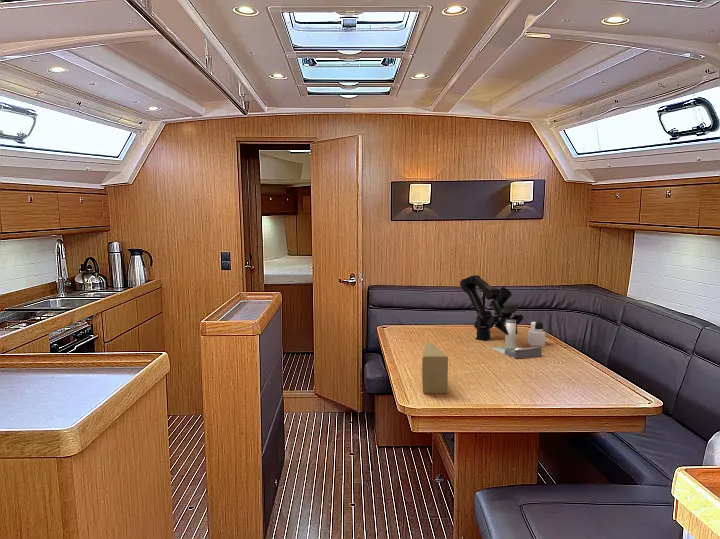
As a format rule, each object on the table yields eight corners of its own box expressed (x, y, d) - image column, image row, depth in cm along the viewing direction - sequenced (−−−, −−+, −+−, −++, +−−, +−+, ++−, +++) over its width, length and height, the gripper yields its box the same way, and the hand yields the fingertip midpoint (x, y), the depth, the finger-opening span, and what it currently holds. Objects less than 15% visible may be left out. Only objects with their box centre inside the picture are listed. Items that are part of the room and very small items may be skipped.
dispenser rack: (504, 354, 240) (504, 345, 239) (530, 351, 244) (530, 342, 244) (515, 359, 232) (515, 349, 231) (541, 356, 236) (541, 346, 236)
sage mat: (491, 348, 250) (491, 348, 250) (515, 346, 255) (515, 345, 255) (504, 354, 240) (504, 353, 240) (529, 351, 245) (529, 350, 245)
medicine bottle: (541, 342, 262) (542, 320, 261) (545, 346, 255) (545, 323, 254) (527, 342, 263) (528, 320, 262) (531, 345, 256) (531, 323, 255)
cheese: (416, 375, 207) (416, 341, 206) (439, 375, 207) (440, 341, 205) (422, 394, 185) (422, 355, 184) (447, 394, 185) (448, 355, 183)
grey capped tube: (503, 347, 247) (504, 320, 246) (507, 345, 251) (508, 318, 250) (512, 349, 244) (513, 321, 243) (516, 347, 248) (517, 320, 246)
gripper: (491, 300, 246) (503, 326, 237) (522, 298, 252) (535, 324, 243) (482, 313, 254) (493, 338, 245) (512, 311, 260) (524, 336, 251)
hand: (512, 334), depth 245 cm, fingers closed on grey capped tube, 5 cm apart
